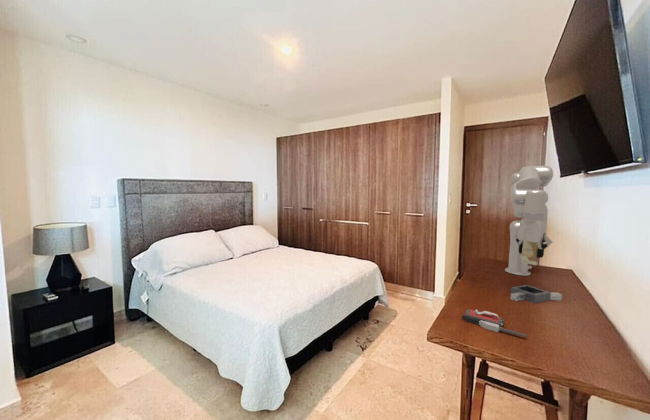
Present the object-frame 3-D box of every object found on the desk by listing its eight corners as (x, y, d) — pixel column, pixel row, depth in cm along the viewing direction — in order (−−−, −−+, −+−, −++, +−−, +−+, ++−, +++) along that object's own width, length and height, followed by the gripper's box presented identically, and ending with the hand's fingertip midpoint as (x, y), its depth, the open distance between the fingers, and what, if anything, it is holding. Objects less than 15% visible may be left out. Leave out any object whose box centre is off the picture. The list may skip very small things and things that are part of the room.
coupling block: (533, 290, 136) (534, 283, 136) (563, 300, 124) (564, 292, 124) (501, 295, 128) (502, 288, 128) (530, 306, 116) (530, 298, 116)
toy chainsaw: (460, 322, 102) (526, 341, 90) (460, 311, 101) (527, 328, 90) (464, 314, 109) (526, 330, 97) (465, 303, 108) (527, 318, 97)
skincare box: (520, 262, 127) (522, 236, 126) (522, 261, 130) (524, 235, 129) (537, 265, 123) (540, 238, 122) (539, 263, 126) (541, 237, 125)
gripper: (509, 215, 132) (506, 251, 133) (549, 219, 115) (545, 260, 117) (520, 215, 134) (517, 250, 136) (560, 219, 118) (557, 259, 119)
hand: (530, 255), depth 126 cm, fingers closed on skincare box, 7 cm apart
